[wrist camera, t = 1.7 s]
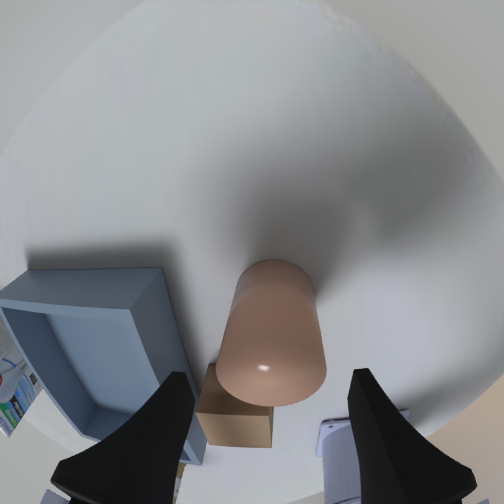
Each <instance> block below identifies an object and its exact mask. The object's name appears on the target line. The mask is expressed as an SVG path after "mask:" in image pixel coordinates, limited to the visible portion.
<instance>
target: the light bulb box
mask: <svg viewBox="0 0 504 504" xmlns="http://www.w3.org/2000/svg"><path fill="white" fill-rule="evenodd" d="M42 389H43V387H42V386H41V384H40V383H39V381H38V380H37V378H36V377H35V375H34V374H33V372H32V371H31V369H30V368H29V366H28V364H27V363H26V361H25V359H24V358H23V356H22V354H21V353H20V351H19V349H18V348H17V346H16V344H15V342H14V340H13V338H12V337H11V335H10V333H9V331H8V329H7V327H6V325H5V323H4V321H3V319H2V317H1V315H0V431H1V432H2V433H4V434H5V435H6V436H7V437H10V435H11V434H12V432H13V431H14V429H15V428H16V426H17V425H18V423H19V422H20V420H21V418H22V417H23V415H24V414H25V413H26V411H27V410H28V408H29V407H30V405H31V404H32V402H33V401H34V400H35V398H36V397H37V395H38V394H39V393H40V391H41V390H42Z"/></svg>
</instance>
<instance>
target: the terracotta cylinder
mask: <svg viewBox="0 0 504 504" xmlns="http://www.w3.org/2000/svg"><path fill="white" fill-rule="evenodd" d="M216 375H217V378H218V380H219V382H220V384H221V385H222V386H223V388H224V389H225V390H226V391H227V392H229V393H230V394H231V395H233V396H234V397H236V398H238V399H240V400H242V401H244V402H247V403H250V404H254V405H259V406H270V407H275V406H285V405H290V404H294V403H297V402H300V401H302V400H304V399H306V398H308V397H309V396H311V395H312V394H314V393H315V392H316V391H317V390H318V389H319V388H320V387H321V385H322V384H323V382H324V380H325V377H326V362H325V356H324V350H323V344H322V337H321V332H320V326H319V320H318V314H317V309H316V303H315V298H314V293H313V288H312V284H311V281H310V279H309V277H308V276H307V274H306V273H305V272H304V271H303V270H302V269H301V268H299V267H298V266H296V265H294V264H292V263H290V262H287V261H283V260H266V261H262V262H259V263H256V264H254V265H252V266H251V267H249V268H248V269H247V270H246V271H245V272H244V273H243V274H242V275H241V277H240V278H239V280H238V283H237V286H236V290H235V294H234V298H233V301H232V305H231V309H230V313H229V317H228V321H227V325H226V328H225V332H224V336H223V340H222V344H221V348H220V352H219V355H218V359H217V363H216Z"/></svg>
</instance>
